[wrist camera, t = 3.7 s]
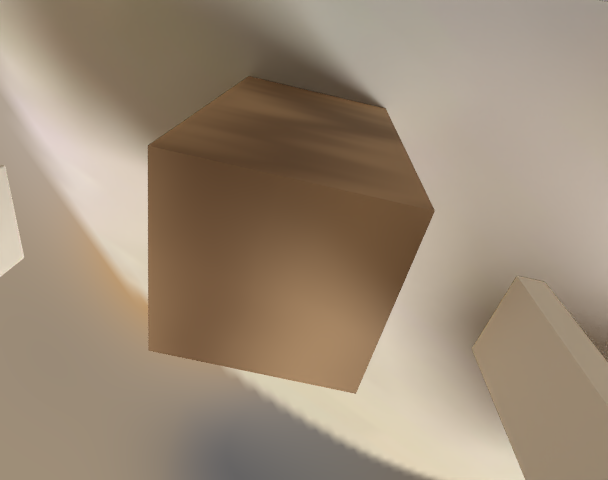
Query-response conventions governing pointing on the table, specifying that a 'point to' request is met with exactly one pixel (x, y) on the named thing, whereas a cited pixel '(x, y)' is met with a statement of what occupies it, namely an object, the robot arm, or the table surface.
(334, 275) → the walnut block
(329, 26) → the table surface
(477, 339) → the robot arm
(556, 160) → the table surface
